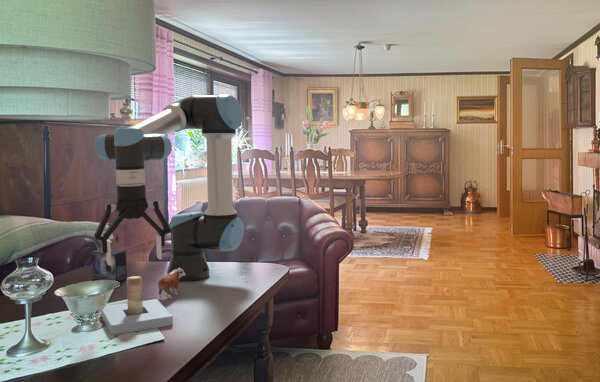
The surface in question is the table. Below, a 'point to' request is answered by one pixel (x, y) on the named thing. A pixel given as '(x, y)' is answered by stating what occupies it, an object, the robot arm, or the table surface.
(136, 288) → the peg
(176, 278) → the bull figurine
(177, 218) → the robot arm
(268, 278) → the table surface
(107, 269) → the small box
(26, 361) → the table surface
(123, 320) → the socket board
